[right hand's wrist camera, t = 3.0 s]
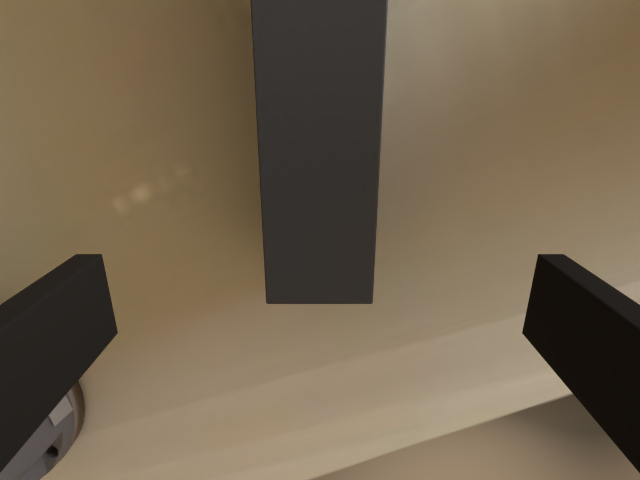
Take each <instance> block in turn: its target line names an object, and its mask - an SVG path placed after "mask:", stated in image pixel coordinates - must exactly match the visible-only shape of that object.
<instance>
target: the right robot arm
mask: <svg viewBox="0 0 640 480" xmlns="http://www.w3.org/2000/svg"><path fill="white" fill-rule="evenodd" d="M117 333H118V332H117V327H116V322H115V317H114V312H113V307H112V302H111V297H110V292H109V288H108V283H107V278H106V273H105V268H104V263H103V258H102V254H76V255H74V256H73V257H71V258H70V259H68V260H67V261H65V262H64V263H62V264H61V265H59V266H58V267H56V268H55V269H53V270H52V271H50V272H49V273H47V274H46V275H44V276H43V277H41V278H40V279H38V280H37V281H35V282H34V283H32V284H31V285H29V286H28V287H26V288H25V289H23V290H22V291H20V292H19V293H17V294H16V295H14V296H13V297H11V298H10V299H8V300H7V301H5V302H4V303H2V304H1V305H0V480H40V479H41V478H42V477H43V476H45V475H46V474H47V473H48V472H49V471H50V470H51V469H52V468H54V466H55V465H56V464H57V463H58V462H59V461H60V460H61V459H62V458H63V457H64V456H65V454H66V453H67V451H68V450H69V449H70V447H71V446H72V444H73V443H74V441H75V440H76V438H77V437H78V435H79V433H80V431H81V428H82V425H83V421H84V414H85V407H84V399H83V394H82V391H81V388H80V385H79V383H78V380H79V379H80V377H81V376H82V375H83V374H84V373H85V371H86V370H87V369H88V368H89V367H90V365H91V364H92V363H93V362H94V361H95V359H96V358H97V357H98V356H99V355H100V354H101V352H102V351H103V350H104V349H105V348H106V346H107V345H108V344H109V343H110V342H111V340H112V339H113V338H114V337H115V336H116V334H117ZM522 333H523V334H524V336H525V337H526V338H527V339H528V340H529V342H530V343H531V344H532V345H533V346H534V348H535V349H536V350H537V351H538V352H539V354H540V355H541V356H542V357H543V358H544V359H545V361H546V362H547V363H548V364H549V365H550V367H551V368H552V369H553V370H554V371H555V373H556V374H557V375H558V376H559V377H560V379H561V380H562V381H563V382H564V383H565V384H566V386H567V387H568V388H569V389H570V390H571V392H572V393H573V394H574V395H575V396H576V398H577V399H578V400H579V401H580V402H581V404H582V405H583V406H584V407H585V408H586V410H587V411H588V412H589V413H590V414H591V415H592V417H593V418H594V419H595V420H596V421H597V423H598V424H599V425H600V426H601V427H602V429H603V430H604V431H605V432H606V433H607V435H608V436H609V437H610V438H611V439H612V441H613V442H614V443H615V444H616V445H617V446H618V448H619V449H620V450H621V451H622V452H623V454H624V455H625V456H626V457H627V458H628V460H629V461H630V462H631V463H632V464H633V466H634V467H635V468H636V469H637V470H638V471H639V473H640V305H639V304H638V303H636V302H635V301H633V300H632V299H630V298H629V297H627V296H626V295H624V294H623V293H621V292H620V291H618V290H617V289H615V288H614V287H612V286H611V285H609V284H608V283H606V282H605V281H603V280H602V279H600V278H599V277H597V276H596V275H594V274H593V273H591V272H590V271H588V270H587V269H585V268H584V267H582V266H581V265H579V264H578V263H576V262H575V261H573V260H572V259H570V258H569V257H567V256H566V255H564V254H538V258H537V263H536V268H535V273H534V278H533V283H532V288H531V292H530V297H529V302H528V307H527V312H526V317H525V322H524V327H523V332H522Z"/></svg>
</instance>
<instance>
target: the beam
mask: <svg viewBox="0 0 640 480" xmlns="http://www.w3.org/2000/svg"><path fill="white" fill-rule="evenodd" d="M387 10H388V0H251V17H252V36H253V56H254V75H255V94H256V113H257V132H258V152H259V171H260V190H261V209H262V228H263V248H264V267H265V286H266V303H267V304H372V303H373V284H374V265H375V245H376V225H377V206H378V186H379V167H380V147H381V127H382V108H383V88H384V68H385V49H386V29H387Z"/></svg>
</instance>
